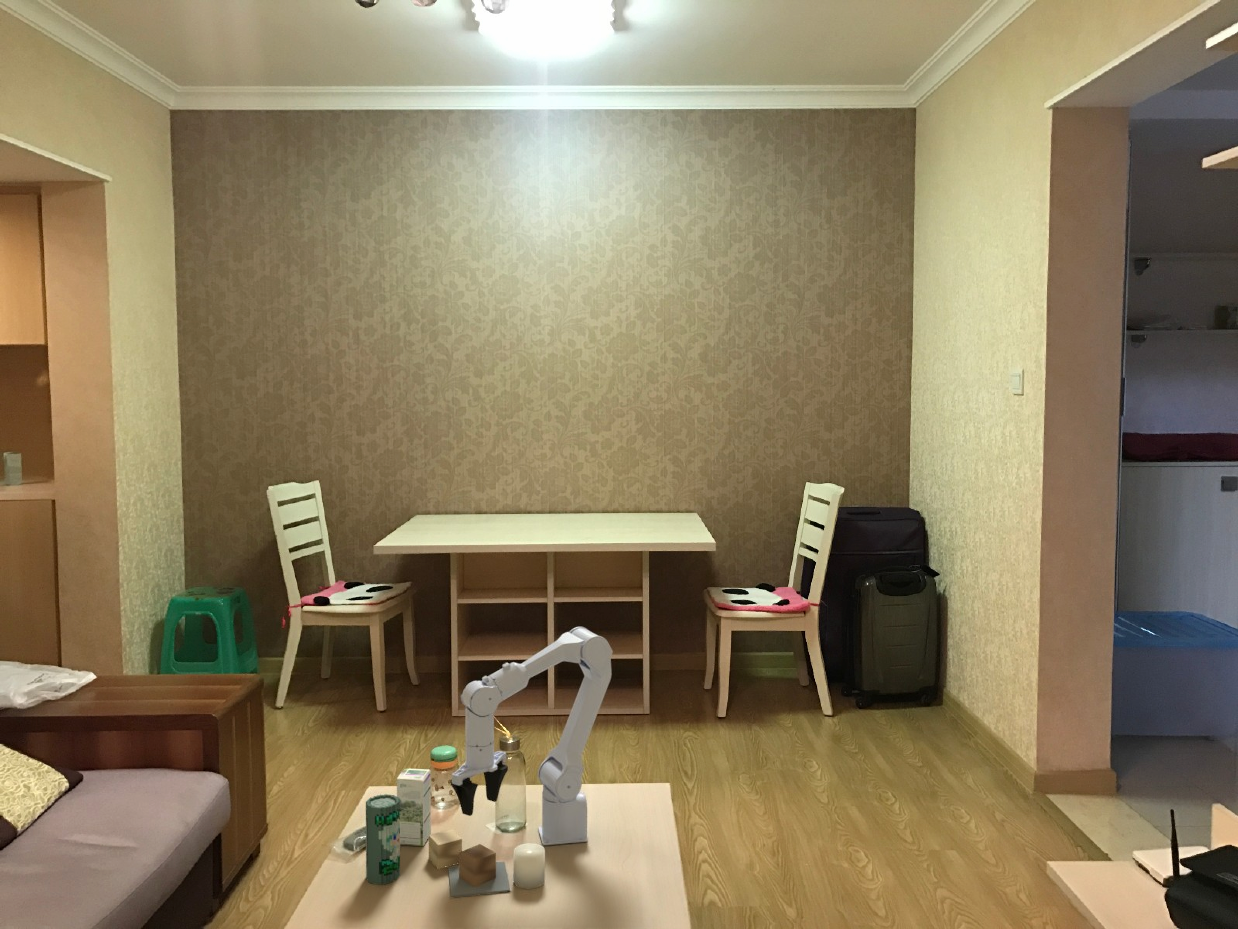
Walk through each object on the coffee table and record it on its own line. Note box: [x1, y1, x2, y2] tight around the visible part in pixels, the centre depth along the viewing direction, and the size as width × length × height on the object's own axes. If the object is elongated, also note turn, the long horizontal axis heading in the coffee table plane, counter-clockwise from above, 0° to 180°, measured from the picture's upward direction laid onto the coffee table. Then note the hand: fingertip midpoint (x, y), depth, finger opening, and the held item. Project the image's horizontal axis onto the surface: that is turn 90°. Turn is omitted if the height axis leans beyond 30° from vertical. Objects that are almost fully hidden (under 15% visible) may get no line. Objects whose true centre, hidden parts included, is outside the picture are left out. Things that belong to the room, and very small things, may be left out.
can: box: [365, 793, 401, 886], centre depth 184 cm, size 6×6×15 cm
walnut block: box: [458, 843, 497, 887], centre depth 184 cm, size 5×5×5 cm
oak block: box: [428, 828, 463, 870], centre depth 191 cm, size 5×5×5 cm
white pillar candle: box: [513, 842, 546, 890], centre depth 184 cm, size 6×6×6 cm
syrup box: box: [396, 768, 432, 847], centre depth 199 cm, size 6×6×14 cm
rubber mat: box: [448, 861, 511, 899], centre depth 184 cm, size 11×11×1 cm
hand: (479, 807), depth 193 cm, fingers open, 7 cm apart
